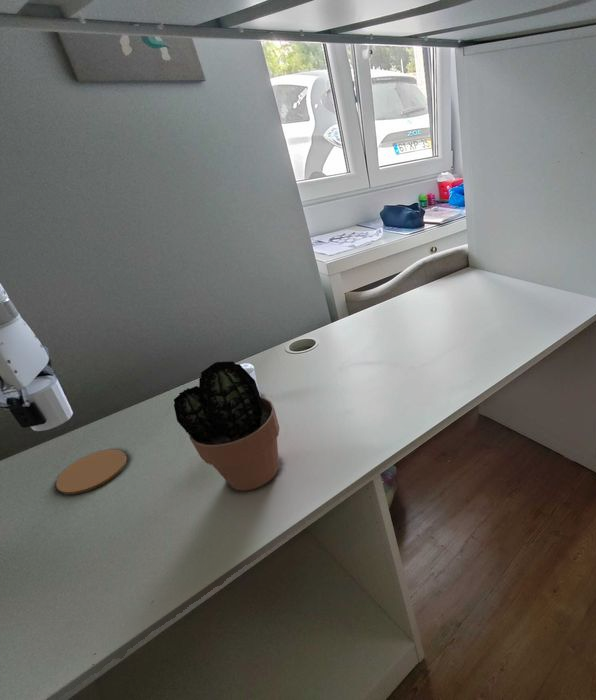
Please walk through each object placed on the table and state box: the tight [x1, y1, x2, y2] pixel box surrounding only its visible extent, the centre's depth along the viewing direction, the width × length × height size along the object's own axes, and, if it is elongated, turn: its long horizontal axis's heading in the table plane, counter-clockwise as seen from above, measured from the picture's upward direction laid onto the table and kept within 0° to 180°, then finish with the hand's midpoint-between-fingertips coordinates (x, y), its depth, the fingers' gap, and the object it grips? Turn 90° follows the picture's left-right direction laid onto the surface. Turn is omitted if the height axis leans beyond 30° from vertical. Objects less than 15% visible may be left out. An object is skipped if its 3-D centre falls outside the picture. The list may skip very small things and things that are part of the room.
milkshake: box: [240, 362, 262, 397], centre depth 101 cm, size 4×5×10 cm
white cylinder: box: [9, 375, 74, 432], centre depth 74 cm, size 7×7×7 cm
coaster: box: [55, 449, 128, 495], centre depth 85 cm, size 11×11×1 cm
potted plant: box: [173, 360, 280, 491], centre depth 77 cm, size 14×14×25 cm
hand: (45, 410), depth 75 cm, fingers closed on white cylinder, 6 cm apart
